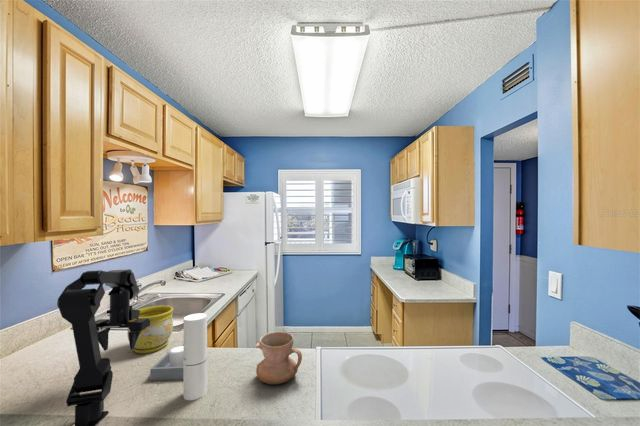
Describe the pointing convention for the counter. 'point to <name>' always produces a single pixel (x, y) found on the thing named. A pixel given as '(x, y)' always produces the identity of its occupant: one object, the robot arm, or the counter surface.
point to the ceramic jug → (277, 358)
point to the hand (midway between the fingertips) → (119, 349)
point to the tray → (165, 370)
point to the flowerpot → (154, 329)
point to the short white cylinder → (176, 356)
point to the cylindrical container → (195, 356)
